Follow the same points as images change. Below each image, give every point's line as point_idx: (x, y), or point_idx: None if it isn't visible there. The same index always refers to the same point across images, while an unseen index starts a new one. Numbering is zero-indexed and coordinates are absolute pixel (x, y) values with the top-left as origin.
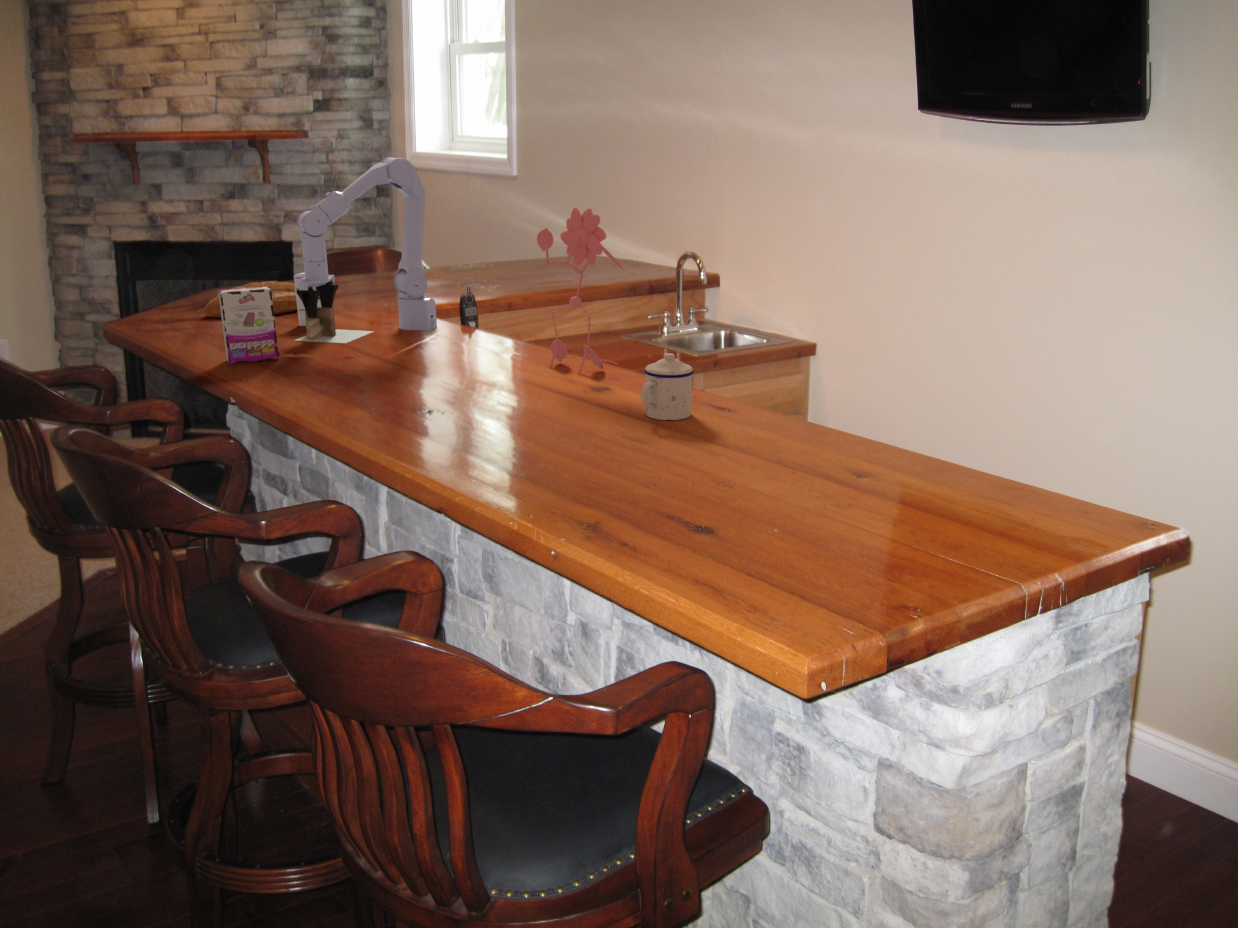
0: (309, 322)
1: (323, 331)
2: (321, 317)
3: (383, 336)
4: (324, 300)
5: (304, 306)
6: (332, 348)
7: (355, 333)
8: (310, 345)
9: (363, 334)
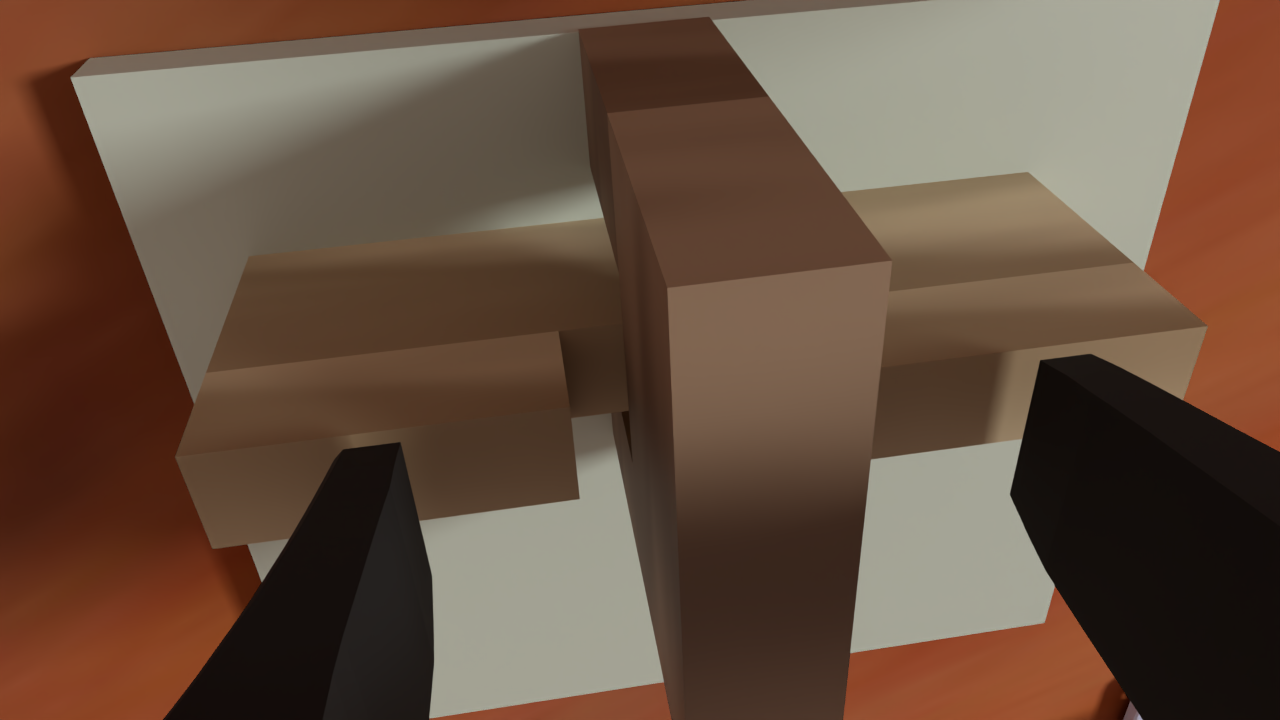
0: (206, 514)
1: None
2: (649, 512)
3: (935, 694)
4: (1216, 608)
5: (213, 659)
6: (156, 657)
7: (888, 539)
8: (143, 361)
9: None
